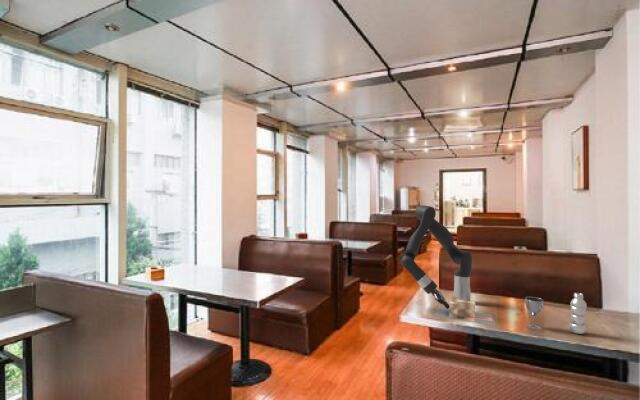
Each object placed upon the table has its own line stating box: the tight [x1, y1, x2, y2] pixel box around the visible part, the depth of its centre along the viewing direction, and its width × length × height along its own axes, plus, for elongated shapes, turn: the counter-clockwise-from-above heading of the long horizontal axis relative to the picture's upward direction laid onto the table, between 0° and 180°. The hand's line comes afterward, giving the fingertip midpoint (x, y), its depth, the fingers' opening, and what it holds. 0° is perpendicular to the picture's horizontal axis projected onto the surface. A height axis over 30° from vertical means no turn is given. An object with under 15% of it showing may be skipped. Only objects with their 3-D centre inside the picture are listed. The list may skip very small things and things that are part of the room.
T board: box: [434, 306, 497, 326], centre depth 187 cm, size 30×18×1 cm, turn 67°
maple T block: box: [449, 295, 476, 319], centre depth 187 cm, size 13×14×8 cm
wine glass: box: [524, 296, 544, 331], centre depth 174 cm, size 8×8×15 cm
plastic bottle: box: [568, 292, 587, 335], centre depth 167 cm, size 6×7×20 cm
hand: (448, 307), depth 190 cm, fingers closed
